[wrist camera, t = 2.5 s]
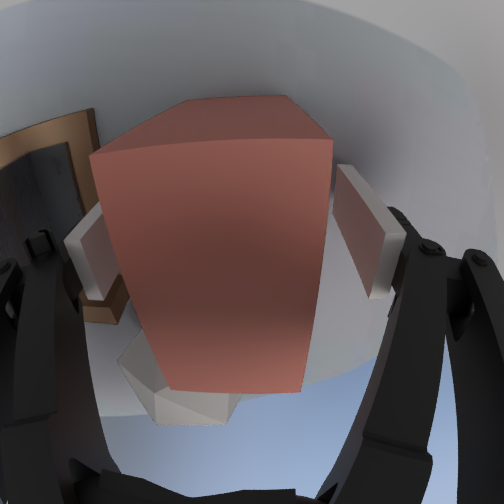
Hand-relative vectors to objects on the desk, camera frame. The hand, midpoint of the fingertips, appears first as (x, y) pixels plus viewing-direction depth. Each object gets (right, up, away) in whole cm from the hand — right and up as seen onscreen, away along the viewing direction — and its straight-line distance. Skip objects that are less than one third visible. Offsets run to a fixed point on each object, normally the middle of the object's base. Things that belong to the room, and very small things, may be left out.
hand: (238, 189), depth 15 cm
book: (0, +1, +1) cm, 2 cm away
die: (-4, -9, +8) cm, 13 cm away
